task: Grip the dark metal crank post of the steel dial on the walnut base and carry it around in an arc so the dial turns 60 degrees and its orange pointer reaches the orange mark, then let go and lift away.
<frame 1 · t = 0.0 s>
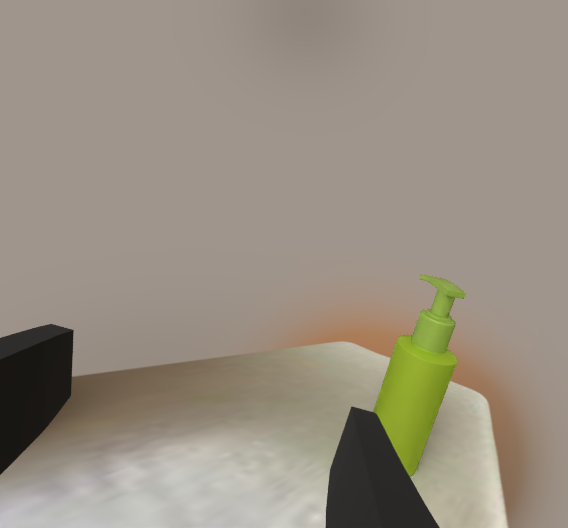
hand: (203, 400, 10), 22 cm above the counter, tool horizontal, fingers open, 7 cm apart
soap dispenser: (386, 454, 43), on the counter
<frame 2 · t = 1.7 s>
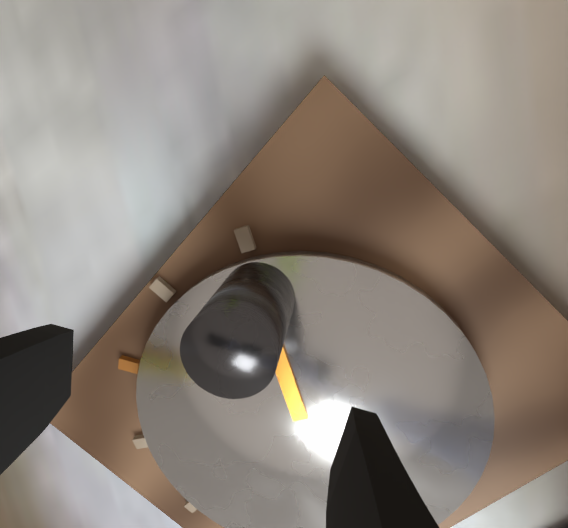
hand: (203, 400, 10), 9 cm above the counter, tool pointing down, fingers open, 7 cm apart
dial base: (308, 395, 20), on the counter
dial: (299, 458, 16), point 4 cm above the counter, hinge at 0.0°
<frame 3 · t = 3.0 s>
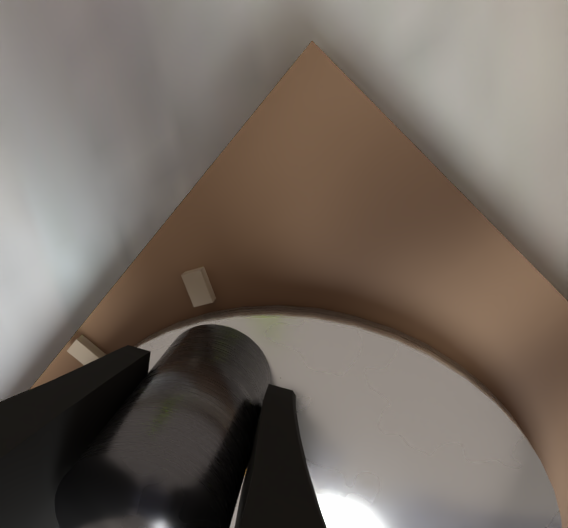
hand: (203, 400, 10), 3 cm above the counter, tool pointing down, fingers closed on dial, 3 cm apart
dial base: (295, 486, 15), on the counter
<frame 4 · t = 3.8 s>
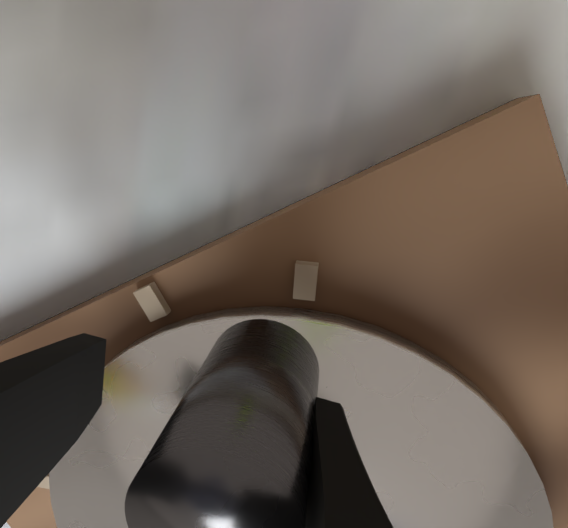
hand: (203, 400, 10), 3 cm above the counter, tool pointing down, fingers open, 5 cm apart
dial base: (289, 487, 15), on the counter
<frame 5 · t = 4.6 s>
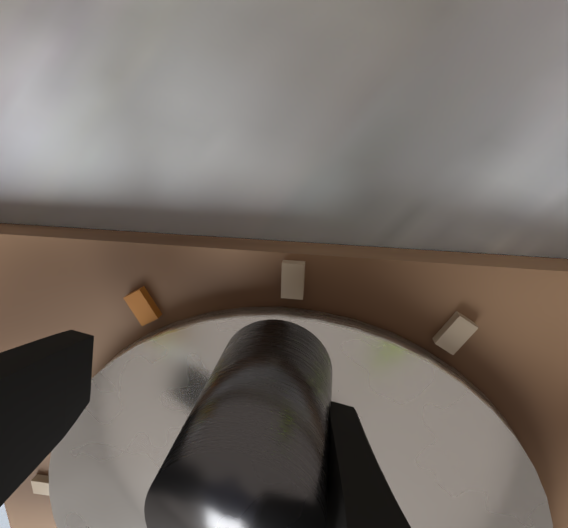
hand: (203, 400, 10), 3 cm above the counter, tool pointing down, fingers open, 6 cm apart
dial base: (288, 487, 15), on the counter
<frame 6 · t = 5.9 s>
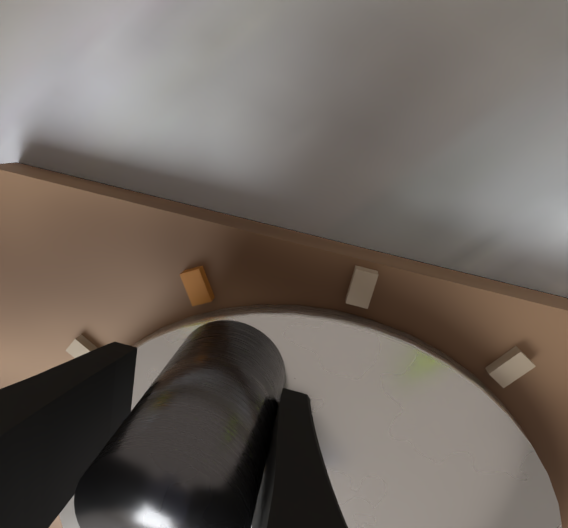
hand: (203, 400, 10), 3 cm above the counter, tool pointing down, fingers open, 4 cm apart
dial base: (294, 486, 15), on the counter
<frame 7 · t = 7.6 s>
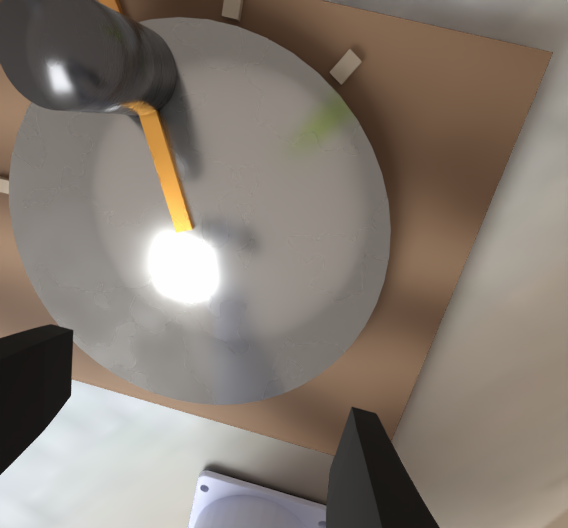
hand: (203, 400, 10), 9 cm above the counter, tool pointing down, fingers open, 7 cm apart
dial base: (206, 228, 18), on the counter
dial: (170, 255, 14), point 4 cm above the counter, hinge at 56.1°
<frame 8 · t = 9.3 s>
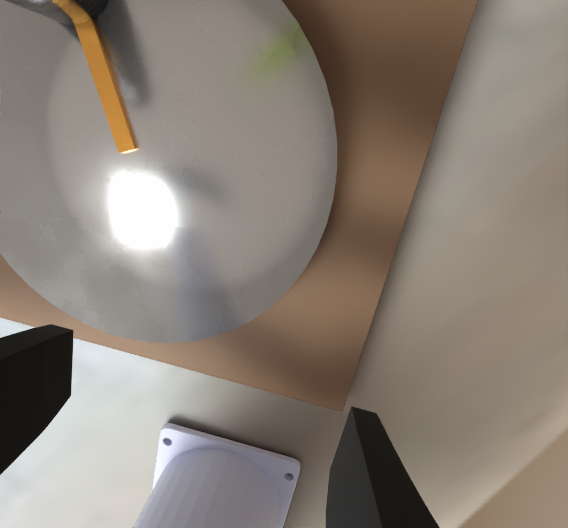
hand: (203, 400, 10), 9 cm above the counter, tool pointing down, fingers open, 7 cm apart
dial base: (157, 159, 18), on the counter
dial: (106, 167, 14), point 4 cm above the counter, hinge at 56.1°
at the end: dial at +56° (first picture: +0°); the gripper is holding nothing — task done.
